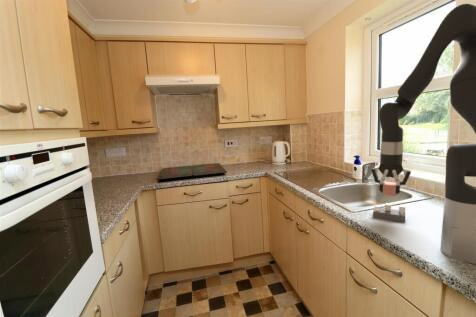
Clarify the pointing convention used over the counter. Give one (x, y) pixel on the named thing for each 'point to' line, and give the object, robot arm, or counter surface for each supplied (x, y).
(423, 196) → the counter surface
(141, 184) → the counter surface
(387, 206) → the breaker tagged
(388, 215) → the dark grey flat block
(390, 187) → the pink cube
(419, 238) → the counter surface
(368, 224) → the counter surface
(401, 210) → the breaker plain
